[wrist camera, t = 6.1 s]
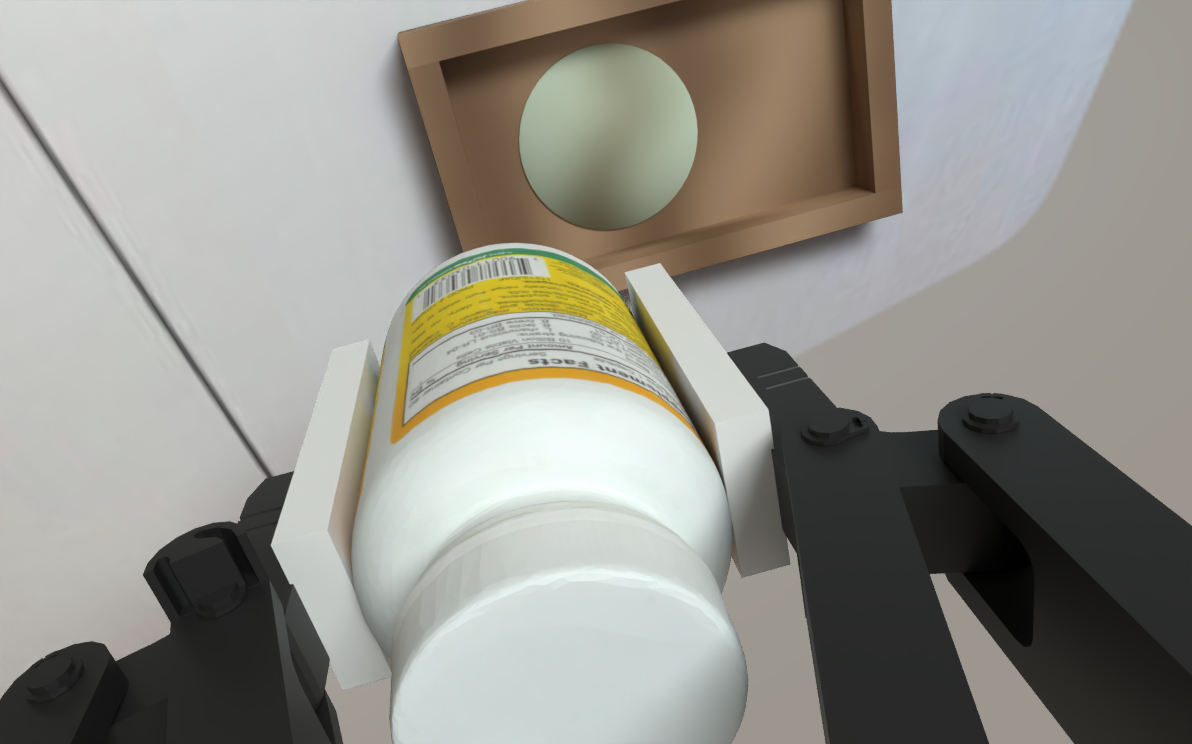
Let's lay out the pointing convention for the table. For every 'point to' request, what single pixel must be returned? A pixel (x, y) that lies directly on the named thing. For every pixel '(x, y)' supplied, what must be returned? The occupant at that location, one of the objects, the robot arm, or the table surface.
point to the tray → (661, 125)
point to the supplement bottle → (541, 519)
